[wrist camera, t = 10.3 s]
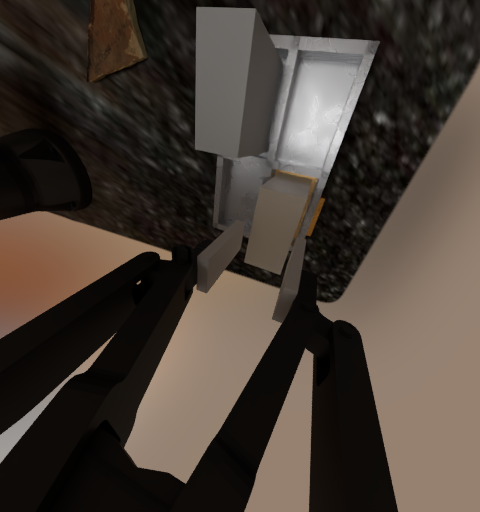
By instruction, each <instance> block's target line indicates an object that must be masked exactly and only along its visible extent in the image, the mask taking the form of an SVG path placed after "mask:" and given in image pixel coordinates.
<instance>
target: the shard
mask: <svg viewBox="0 0 480 512" xmlns="http://www.w3.org/2000/svg"><path fill="white" fill-rule="evenodd" d="M146 58H148V56H147V53H146V50H145V46H144V42H143V39H142V35H141V32H140V29H139V26H138V21H137V16H136V11H135V6H134V3H133V0H90V13H89V27H88V67H87V70H88V71H87V82H97V81H98V80H100V79H102V78H104V77H105V76H106V75H108V74H112V73H114V72H115V71H118V70H121V69H123V68H126V67H130V66H132V65H134V64H135V63H136V62H140V61H143V60H144V59H146Z"/></svg>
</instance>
